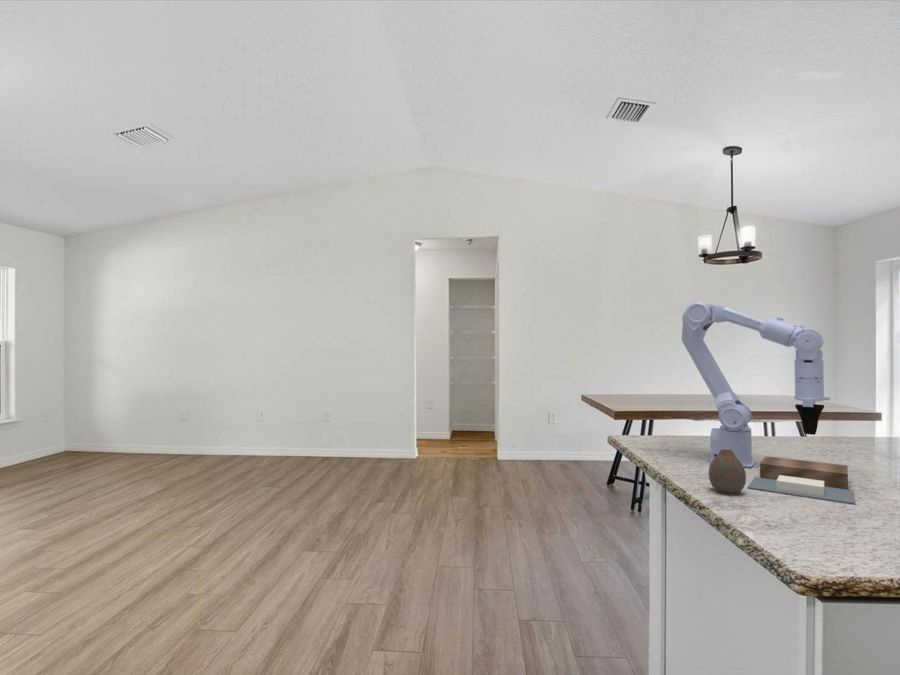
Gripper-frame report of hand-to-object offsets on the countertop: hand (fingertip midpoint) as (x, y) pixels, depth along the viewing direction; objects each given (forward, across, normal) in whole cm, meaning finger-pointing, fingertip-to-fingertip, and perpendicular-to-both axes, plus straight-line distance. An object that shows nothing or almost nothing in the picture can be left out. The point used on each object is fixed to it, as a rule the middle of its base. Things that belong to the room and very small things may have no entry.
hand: (810, 434), depth 121 cm
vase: (+10, -31, +13) cm, 35 cm away
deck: (+9, -9, +1) cm, 13 cm away
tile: (+7, -20, +1) cm, 22 cm away
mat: (+9, -20, +1) cm, 22 cm away
